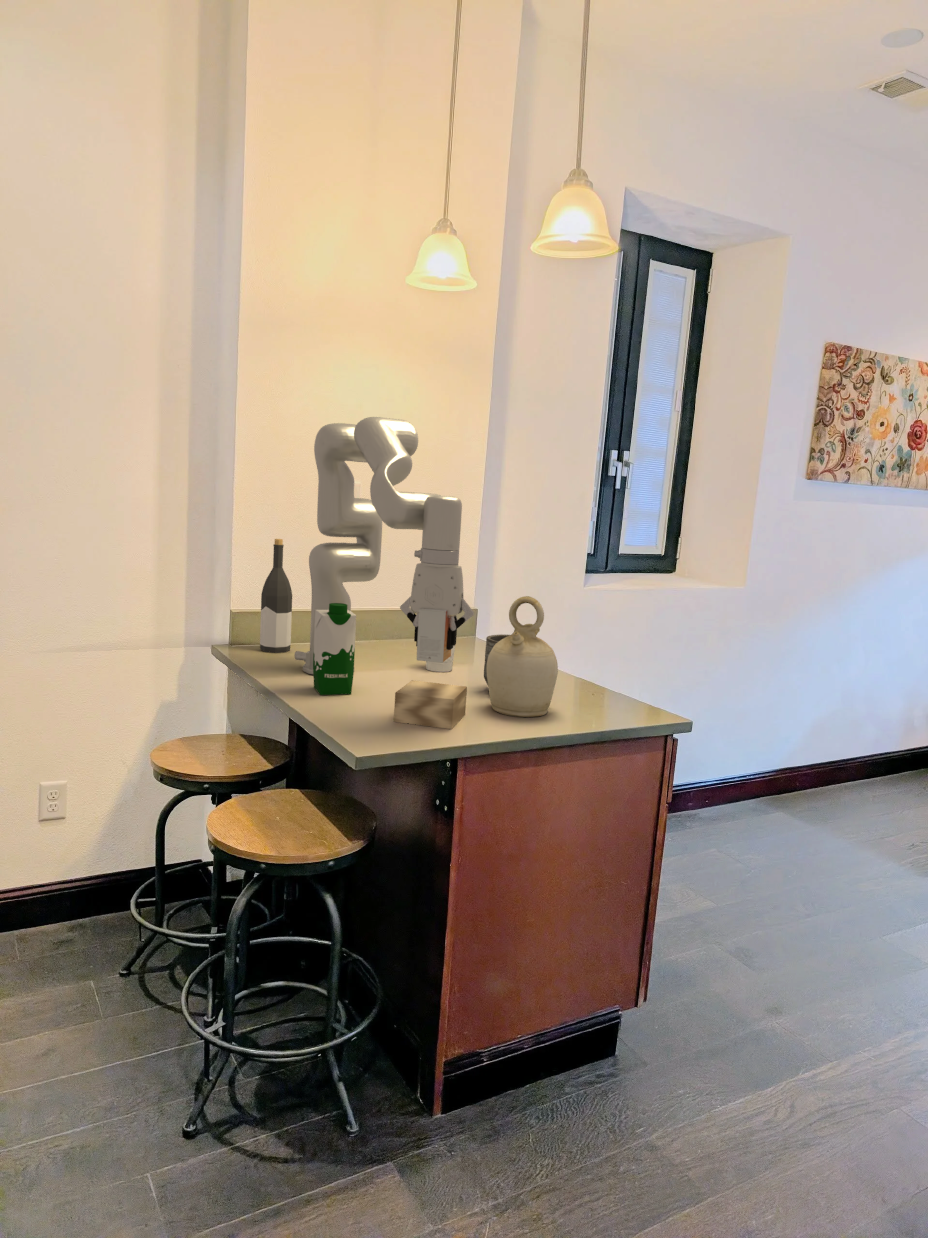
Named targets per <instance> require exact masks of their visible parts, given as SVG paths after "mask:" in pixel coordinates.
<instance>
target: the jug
mask: <svg viewBox="0 0 928 1238" xmlns="http://www.w3.org/2000/svg"><path fill="white" fill-rule="evenodd" d="M523 604H529V605H531V606H532V607H533V608H534V609H535V613H536V620H535V622H534V623H526V624H525V623H524V624H522V623H520V622H519V620H518V618H517V612H518V609H519V607H521V605H523ZM508 618H509V622H510V624H511V626H512V627H513V628H514V629H513V631H512V634H509V635H510V636H507V637H505V638H504V639H502V640H500V641H499V642H498V643H496V644H495V645H494V647H493V648H492V650H491V652H490V654H489V656H488V660H487V667H486V669H487V680H488V685H487V687H488V695H489V700H490V704H491V708H492V710H493V711H495V712H497V713H499V714H501V715H504V716H509V717H517V718H518V717H519V718H536V717H541V716H545V715H547V713H548V710H549V707H550V705H551V702H552V698H553V695H554V691H555V687H556V683H557V679H558V674H559V672H558V671H559V669H558V667H559V666H558V659H557V656H556V654H555V652H554V649H553V648H552V647H551V646H550V645H549V644H548V643H547V642H546V641H545V640H543V639H542V638H541V637H538V636H537V635H538V633H539V632H540V628H541V626H542V625H543V623H544V620H545V612H544V607H543V605H542V604H541V603H540V601H539V600H537V599H536V598H535V597H533V596H528V595H525V596H520V597H519V598H516V599H515V600H514V601H513V603H512V604H511V606H510V608H509V611H508Z"/></svg>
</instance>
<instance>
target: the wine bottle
mask: <svg viewBox="0 0 928 1238" xmlns="http://www.w3.org/2000/svg"><path fill="white" fill-rule="evenodd" d="M283 540H284V539H283V538H274V543H273V558H272V560H273V561H272V562H273V563H272V568H271V570H270V572H269V574H268V575H267V577H266V579H265V581H264V584H263V586H262V591H261V600H260V602H261V603H260V628H259V629H260V630H259V631H260V633H259V650H260V651H262V652H265V653H271V654H281V653H282V654H283V653H287V652H290V651H291V643H292V638H291V637H292V615H293V614H292V613H293V612H292V611H293V590H292V587H291V584H290V583H291V582H290V580H289V578H288V576H287V574H286V572H285V570H284V568H283V564H284V563H283V561H284V560H283V559H284V544H283V543H284V541H283Z"/></svg>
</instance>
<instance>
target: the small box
mask: <svg viewBox="0 0 928 1238" xmlns="http://www.w3.org/2000/svg"><path fill="white" fill-rule="evenodd" d="M449 627H450V625H449V622H448V617H447V611H446V610H436V609H419V622H418V639H417V646H416V661H421V662H426V661H430V662H441V663H443V662H444V661H445V660H446V659H448V658H449V657H451V650H447V633H448V630H449Z"/></svg>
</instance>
